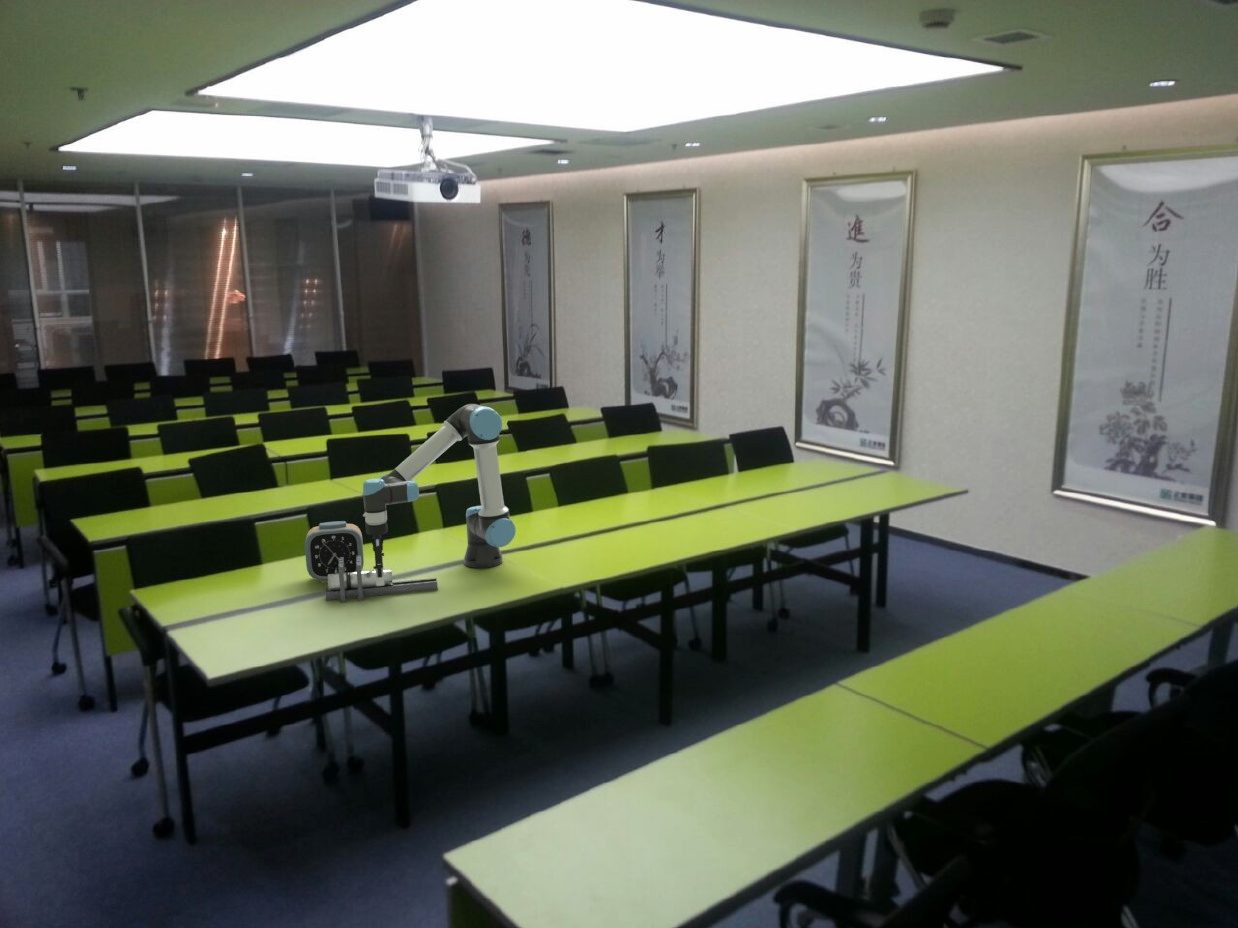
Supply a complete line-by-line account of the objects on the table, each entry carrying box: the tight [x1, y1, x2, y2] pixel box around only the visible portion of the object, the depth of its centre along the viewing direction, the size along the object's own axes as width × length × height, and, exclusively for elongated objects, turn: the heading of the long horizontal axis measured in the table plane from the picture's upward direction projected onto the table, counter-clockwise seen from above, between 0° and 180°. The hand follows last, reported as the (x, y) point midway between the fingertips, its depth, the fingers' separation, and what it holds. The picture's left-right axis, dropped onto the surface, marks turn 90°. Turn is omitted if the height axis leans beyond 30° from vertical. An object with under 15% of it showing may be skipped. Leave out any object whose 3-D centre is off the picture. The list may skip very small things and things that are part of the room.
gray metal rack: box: [324, 555, 439, 604], centre depth 336 cm, size 39×12×13 cm, turn 105°
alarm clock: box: [304, 520, 365, 584], centre depth 353 cm, size 21×10×22 cm, turn 105°
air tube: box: [327, 568, 393, 591], centre depth 335 cm, size 22×6×6 cm, turn 105°
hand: (380, 579), depth 337 cm, fingers open, 13 cm apart
